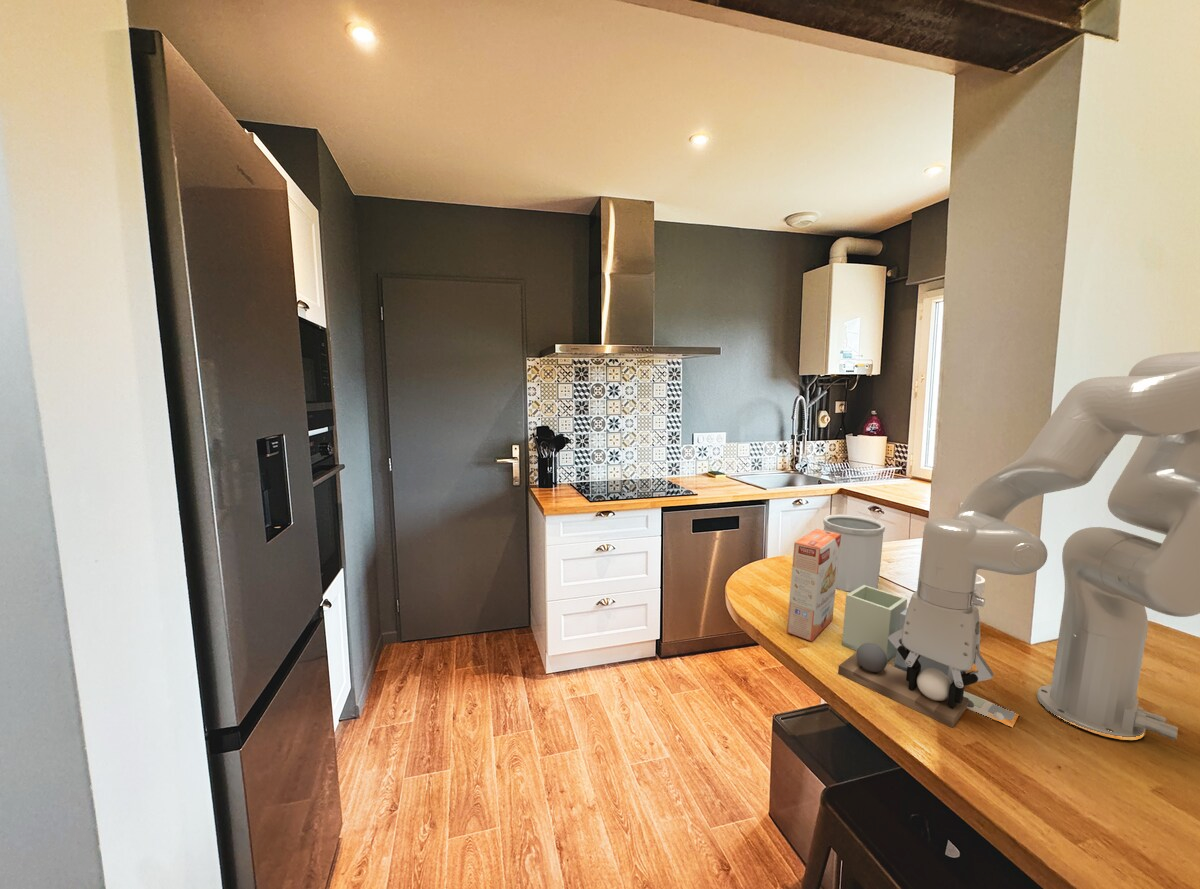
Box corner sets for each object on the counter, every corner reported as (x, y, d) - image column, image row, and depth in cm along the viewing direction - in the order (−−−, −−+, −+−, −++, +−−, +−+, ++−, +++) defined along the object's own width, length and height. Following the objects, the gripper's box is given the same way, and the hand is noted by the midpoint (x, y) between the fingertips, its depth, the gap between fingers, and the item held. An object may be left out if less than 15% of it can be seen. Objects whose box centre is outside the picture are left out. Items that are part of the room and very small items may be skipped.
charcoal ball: (890, 671, 89) (892, 646, 88) (879, 681, 85) (881, 655, 85) (862, 659, 92) (864, 635, 92) (850, 668, 89) (852, 643, 89)
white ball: (954, 699, 81) (958, 672, 80) (945, 711, 78) (948, 683, 77) (921, 685, 85) (924, 658, 84) (910, 696, 82) (913, 668, 81)
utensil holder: (823, 589, 127) (828, 526, 124) (815, 569, 141) (820, 511, 139) (885, 598, 122) (892, 532, 120) (871, 576, 137) (876, 516, 134)
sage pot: (902, 649, 98) (907, 598, 97) (885, 663, 93) (890, 610, 92) (859, 632, 105) (863, 584, 103) (841, 644, 100) (846, 594, 98)
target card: (1019, 717, 79) (1020, 709, 79) (1012, 730, 76) (1013, 722, 76) (961, 692, 85) (962, 685, 85) (952, 704, 82) (953, 696, 82)
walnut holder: (967, 707, 81) (968, 698, 81) (952, 727, 76) (953, 718, 76) (856, 658, 95) (857, 651, 94) (838, 673, 90) (838, 665, 89)
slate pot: (960, 672, 91) (967, 617, 89) (946, 689, 85) (953, 631, 84) (910, 652, 97) (916, 601, 96) (894, 667, 92) (900, 613, 90)
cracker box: (814, 643, 100) (821, 547, 97) (785, 633, 104) (792, 540, 101) (835, 620, 110) (842, 532, 107) (808, 611, 114) (814, 527, 112)
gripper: (1016, 607, 75) (1002, 713, 77) (896, 572, 88) (886, 664, 90) (1005, 621, 70) (989, 734, 72) (879, 582, 83) (870, 679, 85)
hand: (932, 694), depth 81 cm, fingers closed on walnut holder, 5 cm apart
